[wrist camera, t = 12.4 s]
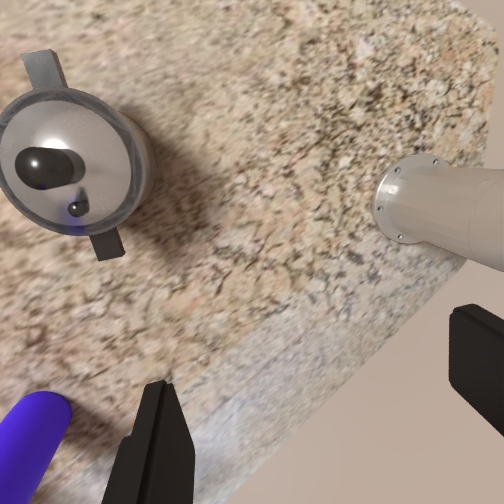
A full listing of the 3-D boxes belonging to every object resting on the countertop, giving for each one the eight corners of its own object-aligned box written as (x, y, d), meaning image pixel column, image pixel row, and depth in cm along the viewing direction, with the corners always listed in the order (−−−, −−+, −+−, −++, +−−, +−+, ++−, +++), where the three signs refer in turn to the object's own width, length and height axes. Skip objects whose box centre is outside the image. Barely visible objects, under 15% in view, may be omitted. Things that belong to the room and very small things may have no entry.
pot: (132, 62, 35) (106, 32, 27) (178, 229, 41) (170, 248, 33) (9, 84, 34) (-57, 61, 26) (76, 252, 41) (41, 277, 32)
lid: (111, 92, 28) (85, 75, 22) (147, 210, 31) (132, 223, 26) (-14, 115, 27) (-75, 103, 21) (36, 233, 31) (-5, 251, 25)
